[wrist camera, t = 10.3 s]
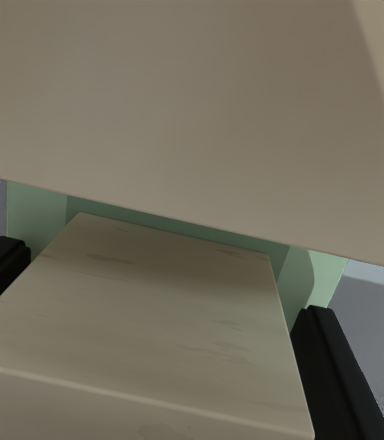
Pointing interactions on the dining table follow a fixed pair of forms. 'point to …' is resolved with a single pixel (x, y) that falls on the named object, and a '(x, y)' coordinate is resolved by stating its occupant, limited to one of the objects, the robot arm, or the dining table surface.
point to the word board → (278, 253)
